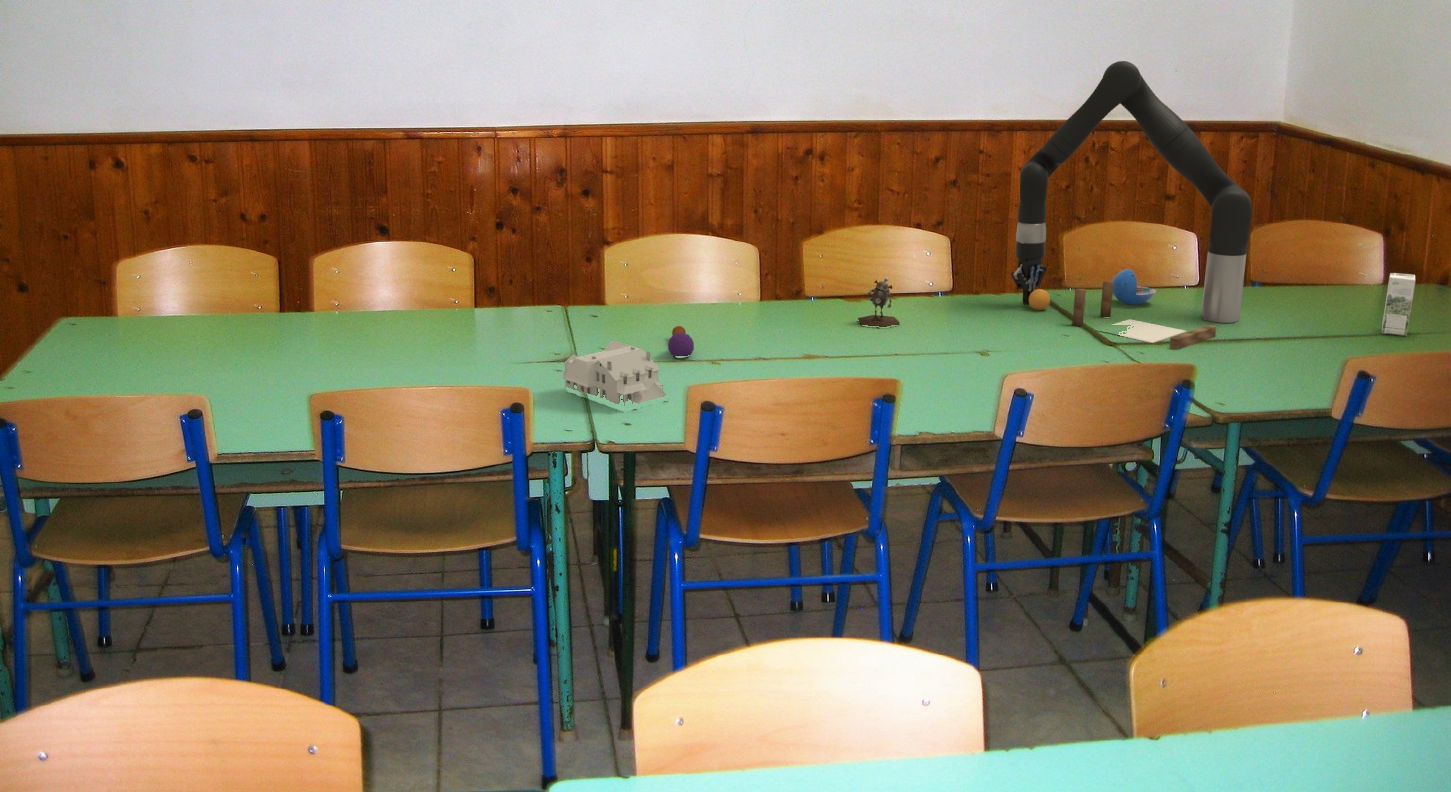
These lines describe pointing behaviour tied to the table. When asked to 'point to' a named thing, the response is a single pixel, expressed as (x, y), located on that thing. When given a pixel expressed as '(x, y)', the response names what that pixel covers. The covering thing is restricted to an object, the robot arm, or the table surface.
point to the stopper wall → (1192, 337)
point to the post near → (1079, 307)
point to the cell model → (1130, 289)
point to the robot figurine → (880, 299)
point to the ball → (1039, 299)
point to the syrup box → (1398, 304)
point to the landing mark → (1148, 331)
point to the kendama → (680, 342)
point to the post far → (1106, 299)
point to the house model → (615, 374)
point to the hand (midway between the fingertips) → (1027, 304)
